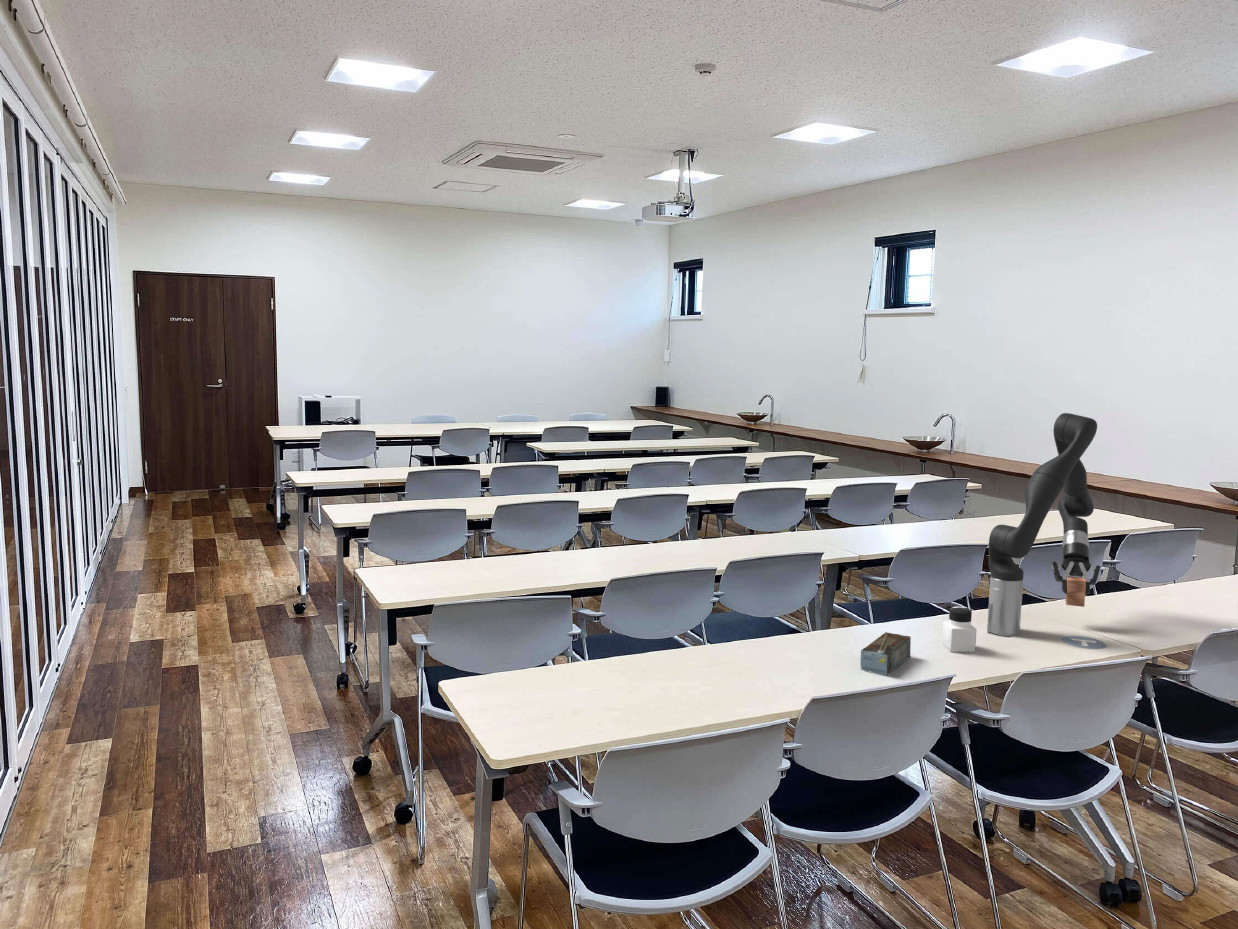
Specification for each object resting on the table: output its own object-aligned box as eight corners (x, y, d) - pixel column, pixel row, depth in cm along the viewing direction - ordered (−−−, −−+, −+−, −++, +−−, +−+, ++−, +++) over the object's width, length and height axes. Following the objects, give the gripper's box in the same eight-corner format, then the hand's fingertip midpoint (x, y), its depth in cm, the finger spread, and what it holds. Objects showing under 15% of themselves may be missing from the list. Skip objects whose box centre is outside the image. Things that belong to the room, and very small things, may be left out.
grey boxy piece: (858, 670, 237) (859, 647, 236) (883, 651, 252) (884, 629, 251) (887, 677, 232) (888, 653, 231) (911, 657, 247) (912, 635, 246)
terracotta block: (1066, 605, 272) (1067, 580, 271) (1065, 600, 277) (1066, 576, 276) (1084, 606, 270) (1086, 581, 269) (1083, 602, 275) (1084, 577, 274)
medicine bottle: (975, 652, 251) (977, 612, 249) (950, 652, 251) (952, 612, 250) (966, 644, 258) (968, 605, 257) (941, 644, 258) (944, 604, 257)
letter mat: (1062, 646, 257) (1062, 645, 257) (1060, 634, 268) (1060, 633, 268) (1109, 652, 252) (1109, 651, 252) (1104, 640, 263) (1104, 639, 263)
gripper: (1051, 539, 281) (1051, 585, 272) (1102, 543, 275) (1103, 589, 266) (1050, 552, 286) (1049, 597, 277) (1099, 556, 281) (1100, 602, 271)
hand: (1076, 593), depth 272 cm, fingers closed on terracotta block, 5 cm apart
